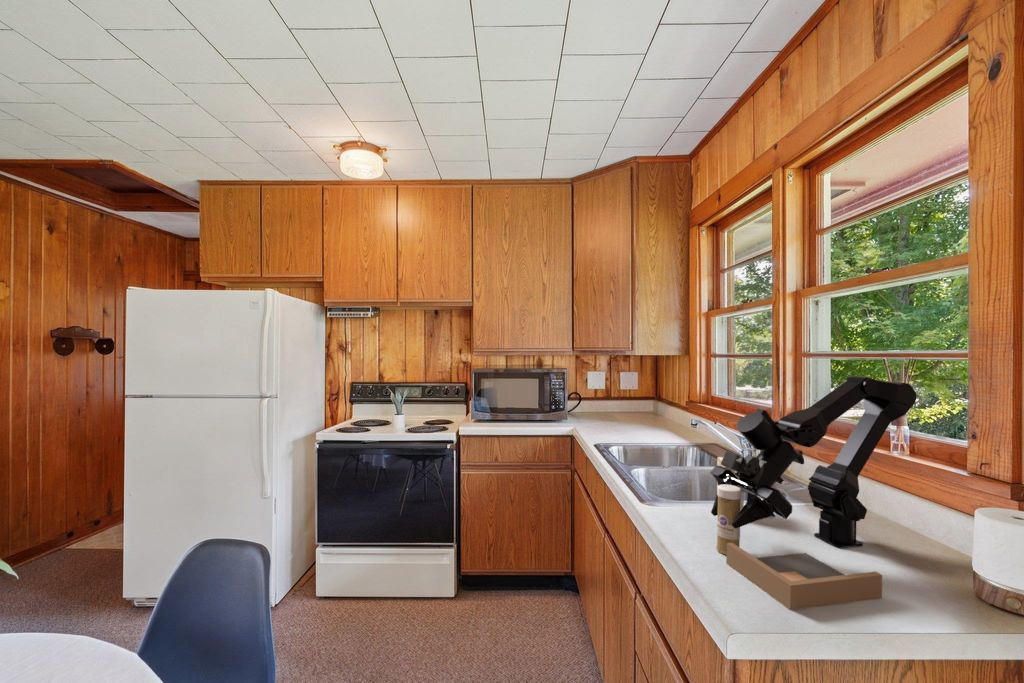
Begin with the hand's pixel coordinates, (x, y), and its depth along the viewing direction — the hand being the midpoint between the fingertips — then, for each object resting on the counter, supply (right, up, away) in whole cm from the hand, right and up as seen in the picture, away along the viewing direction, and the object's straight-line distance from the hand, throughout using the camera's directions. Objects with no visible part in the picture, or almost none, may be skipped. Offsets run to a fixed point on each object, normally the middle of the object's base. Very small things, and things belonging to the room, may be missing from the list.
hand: (722, 520), depth 99 cm
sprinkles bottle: (+1, -7, 0) cm, 7 cm away
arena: (+10, -7, -10) cm, 16 cm away
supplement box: (+12, -7, +23) cm, 27 cm away
